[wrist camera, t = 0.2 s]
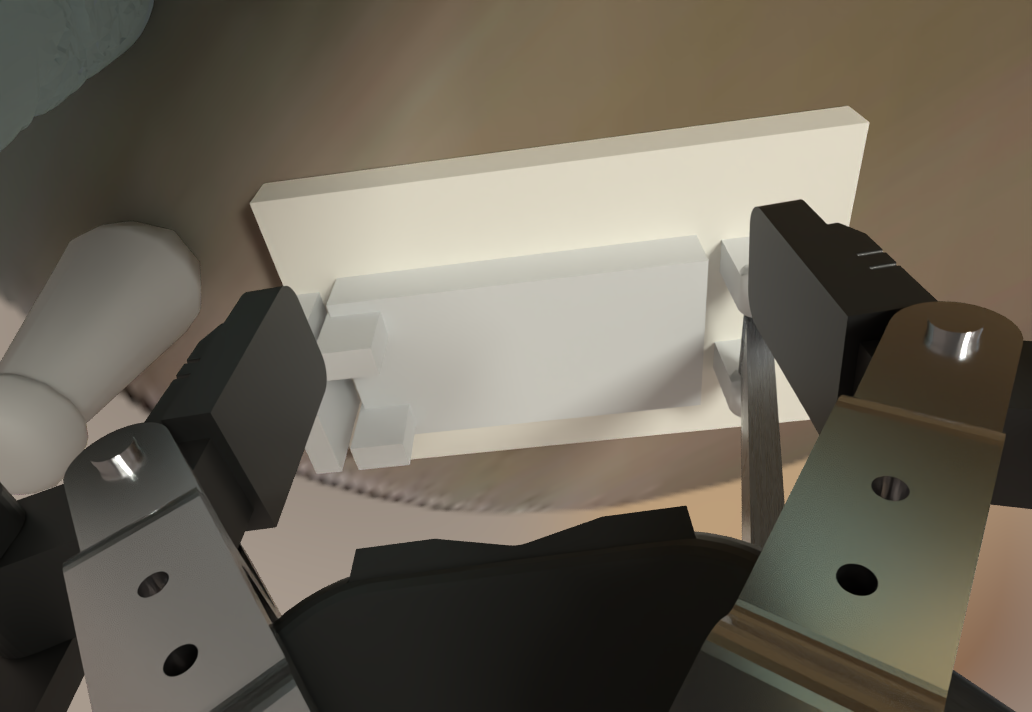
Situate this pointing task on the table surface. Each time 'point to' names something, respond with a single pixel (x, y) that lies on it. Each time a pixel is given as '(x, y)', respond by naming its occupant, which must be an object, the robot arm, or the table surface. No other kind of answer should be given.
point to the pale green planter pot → (58, 51)
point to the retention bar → (759, 438)
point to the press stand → (545, 285)
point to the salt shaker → (89, 343)
